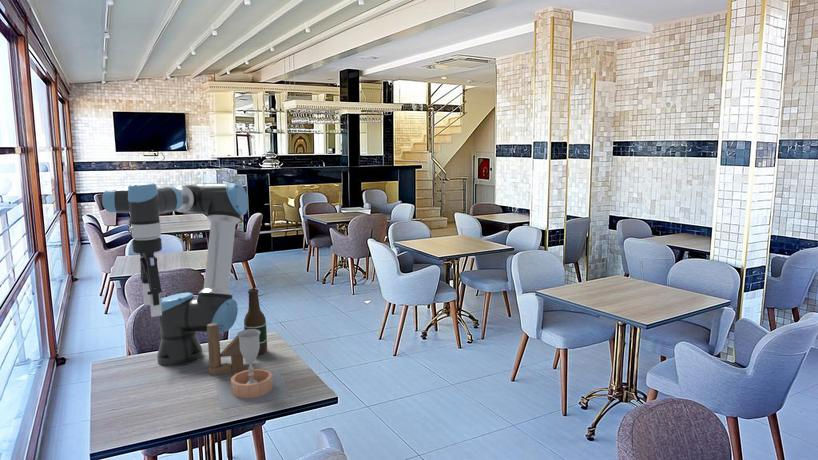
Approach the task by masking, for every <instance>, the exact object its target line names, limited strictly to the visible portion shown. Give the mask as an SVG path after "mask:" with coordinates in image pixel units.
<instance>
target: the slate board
mask: <svg viewBox="0 0 818 460" xmlns="http://www.w3.org/2000/svg"><path fill="white" fill-rule="evenodd" d="M271 373H272V378H273V388H272V390H271V391H270V392H269V393H267V394H265V395H262V396H259V397H254V398H239V397H236V396H234V395H232V390H231V379H228V380H223V381H222V380H221V381H216V382H215V385H216V392H217V397H218V399H219V400H218V401H219V406H220V410H227V409H231V408H237V407H242V406H248V405H254V404H258V403H259V404H260V403H264V402H270V401H275V400H281V399H282V400H283V399H286V398H292V395H291V392H290V391H289V388H288V387H287V385H286V382H285V380H284V378H283V376H282V374H281V372H280V371H276V372H271Z"/></svg>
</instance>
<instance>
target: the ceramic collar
mask: <svg viewBox="0 0 818 460" xmlns="http://www.w3.org/2000/svg"><path fill="white" fill-rule="evenodd" d="M249 373H250V371H249V369H246V370H243V371H242V372H236V373H235V374H234V375H232V377H230V380H231V390H232V395H234V396H236V397H239V398H254V397H259V396H262V395H265V394H267V393H269V392H270V391H271V390H272V388H273V378H272V373H273V372H271V371H270V370H267V369H264V368H263V369H262V368H261V369H260V368H254V369H253V373H254V375H253V380H255V381H257V382H258V383H252V384H246V383H247V382H248V381H249V380H250V376H249V375H248V374H249Z"/></svg>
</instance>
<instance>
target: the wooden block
mask: <svg viewBox="0 0 818 460" xmlns="http://www.w3.org/2000/svg"><path fill="white" fill-rule="evenodd" d="M206 334H207V345H208V360H209V362H208V363H209V367H208V375H209V376H215V375H221V374H222V375H223V374H231V373H232V374H233V373H239V372H242V371H244V367H245V366H244V357H243V356H242V354H241V351H240V344H239V337H238V335H236V336H235V337H234V338H233V339H232V341H230V343H228V345H227V346H226V347H225V348H224V349H223V350H222V351H221V343H220V341H221V340H220V332H219V326H218V323H210V324H208V325H207V332H206ZM225 357H230V361H231V364H230V363H227V362H226V363H222V359H221V358H225Z"/></svg>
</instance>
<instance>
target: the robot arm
mask: <svg viewBox="0 0 818 460" xmlns="http://www.w3.org/2000/svg"><path fill="white" fill-rule="evenodd" d="M101 199H102V206H103V208H104V210H105V211H106V212H109V213H116V214H120V213H121V214H124V213H125V214H129V216H130V218H129V219H130V226H131V227H129V228H128V231H129V232H131V237H132V238H133V239H132V241H131V243H132V251H133V253H135V254H138V255H140V258H139V262H140V280H141V283H142V284H141V285H142V295H143V297H142V299H143V306H150V316H151V318H155V317H159V330H160V338H161V339H160V343H159V348H158V351H157V357H156V358H157V359H156V360H157V363H158V364H160V365H162V366H168V367H169V366H171V367H172V366H174V367H175V366H181V365H187V364H191V363H194V362H196V361H198V360H200V359H201V358H202V357H203V355H204V353H203V347H202V345H201V343H200V340H199V339H198V335H197V333H200V332H202V333H207V325H208V324H210V323H218V326H219V333H225V332H228V331H229V330H231V329H232V327H233V326H234V325H235V323H236V321H237V316H238V310H239V309H238V302H237V301H236V300H235V299H233V293H232V292H231V291H230V282H231V281H230V280H231V271H232V260H233V253H234V251H233V250H234V243H235V231H236V225H238V223H240V222H241V218H242V216H244V215H246V214H247V212H248V210H249V199H248V195H247V192H246V189H244V187H243V186H242V185H241V184H239V183H231V182H225V183H224V182H213V183H212V182H210V183H209V182H208V183H207V182H203V183H194V184H187V185H177V186H175V187H174V186H164V187H158V186H157V184H155V183H154V182H145V183H144V182H143V183H131V184H130V185H128V187H110V188H109V187H108V188H107V189H105V190H104V192H103V194H102V197H101ZM174 211H175V212H178V213H188V214H196V215H207V216H206V218H207V219H208V221H209V222H210V229H209V237H208V246H207V255H206V263H205V264H206V265H205V271H204V272H205V273H204V280H203V282H204V283H203V288H201V290H200V291H199V292H198V293H197V294H198V295H197V298H196V297H195V296H194V293H192V292H181V293H176V294H175V293H174V294H171V295H168V296H166V297H164V298H161V295H162V294H161V293H162V288H161V279H160V274H159V269H158V258H157V257H156V256H155V253H158V252H160V251H162V249H163V245H162V238H161V236H162V231H161V220H160V215H161V214H167V213H172V212H174ZM194 297H195V298H194Z"/></svg>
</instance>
